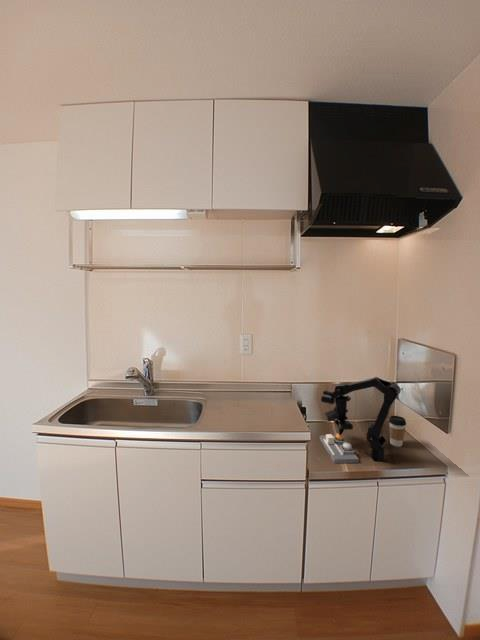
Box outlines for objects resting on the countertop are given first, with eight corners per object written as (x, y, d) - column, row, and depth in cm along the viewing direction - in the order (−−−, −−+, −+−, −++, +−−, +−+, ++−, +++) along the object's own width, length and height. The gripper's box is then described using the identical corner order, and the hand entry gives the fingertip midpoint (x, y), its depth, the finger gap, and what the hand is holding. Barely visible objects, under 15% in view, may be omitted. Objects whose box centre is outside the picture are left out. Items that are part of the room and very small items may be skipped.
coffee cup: (387, 445, 164) (388, 419, 163) (387, 438, 172) (389, 413, 170) (404, 449, 160) (406, 422, 159) (404, 442, 168) (406, 416, 166)
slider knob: (333, 444, 161) (333, 437, 161) (328, 444, 161) (328, 437, 161) (331, 440, 165) (331, 434, 165) (325, 440, 165) (325, 434, 165)
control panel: (358, 462, 148) (358, 456, 148) (334, 463, 148) (334, 456, 147) (340, 438, 172) (340, 432, 172) (319, 438, 172) (319, 433, 171)
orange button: (344, 440, 163) (345, 436, 162) (337, 440, 162) (337, 436, 162) (342, 436, 167) (342, 433, 166) (334, 436, 166) (335, 433, 166)
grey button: (352, 450, 153) (352, 446, 152) (344, 450, 152) (344, 446, 152) (349, 446, 157) (349, 442, 156) (341, 446, 156) (341, 442, 156)
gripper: (321, 400, 172) (320, 426, 173) (332, 414, 153) (331, 443, 155) (340, 400, 172) (339, 426, 174) (353, 413, 153) (352, 443, 155)
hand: (340, 434), depth 164 cm, fingers closed
